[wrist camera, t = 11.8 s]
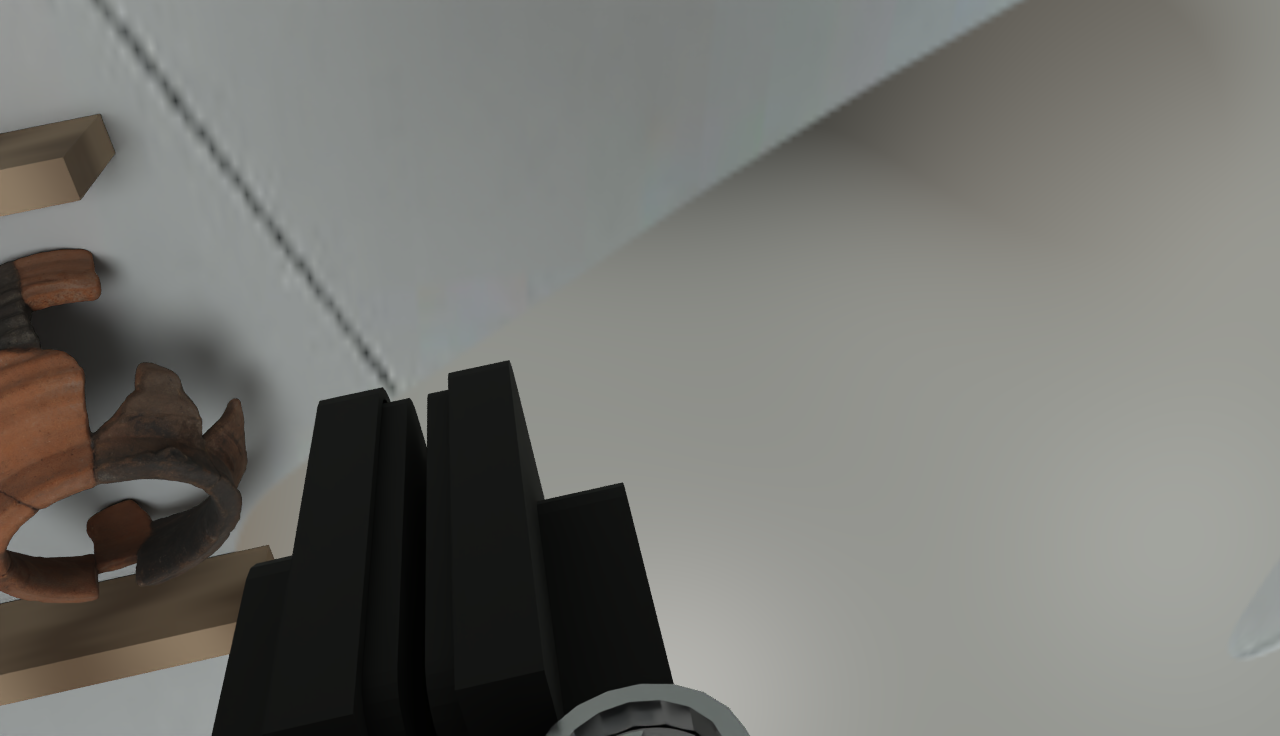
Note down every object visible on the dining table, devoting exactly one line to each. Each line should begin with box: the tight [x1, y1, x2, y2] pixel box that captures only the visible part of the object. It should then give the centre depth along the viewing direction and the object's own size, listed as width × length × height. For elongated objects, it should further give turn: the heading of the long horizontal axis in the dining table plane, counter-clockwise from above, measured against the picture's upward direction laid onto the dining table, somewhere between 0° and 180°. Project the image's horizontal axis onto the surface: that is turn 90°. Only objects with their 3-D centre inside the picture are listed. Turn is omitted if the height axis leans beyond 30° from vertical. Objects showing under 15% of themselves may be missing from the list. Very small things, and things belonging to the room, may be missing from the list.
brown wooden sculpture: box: [0, 249, 247, 603], centre depth 37 cm, size 12×9×8 cm
